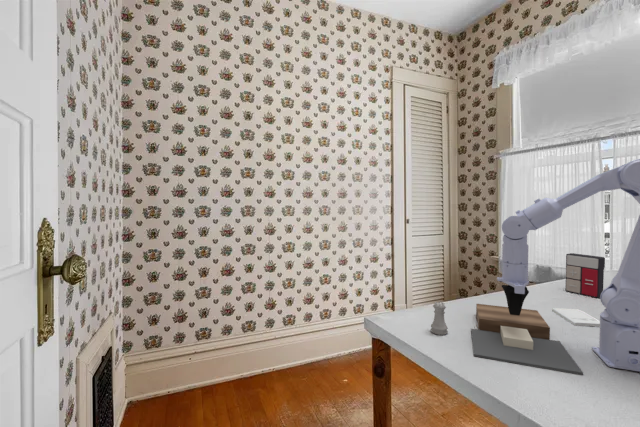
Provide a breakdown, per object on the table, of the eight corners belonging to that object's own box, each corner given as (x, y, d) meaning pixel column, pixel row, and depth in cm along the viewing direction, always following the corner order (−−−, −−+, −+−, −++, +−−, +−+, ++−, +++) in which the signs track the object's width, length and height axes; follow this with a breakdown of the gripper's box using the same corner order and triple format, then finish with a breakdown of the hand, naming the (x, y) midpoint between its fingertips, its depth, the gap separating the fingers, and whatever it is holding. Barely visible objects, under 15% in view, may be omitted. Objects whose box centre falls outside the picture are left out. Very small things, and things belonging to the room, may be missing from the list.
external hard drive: (580, 314, 101) (607, 329, 88) (551, 312, 102) (574, 327, 90) (580, 309, 101) (607, 323, 88) (551, 307, 102) (574, 321, 90)
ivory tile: (533, 349, 74) (533, 341, 74) (503, 345, 77) (503, 337, 76) (526, 336, 81) (527, 329, 81) (500, 332, 84) (500, 325, 84)
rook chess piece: (437, 336, 83) (437, 306, 83) (427, 329, 87) (427, 301, 87) (451, 334, 84) (451, 304, 84) (440, 328, 88) (441, 300, 88)
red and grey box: (564, 291, 125) (564, 253, 125) (570, 290, 127) (571, 253, 126) (597, 298, 115) (598, 258, 115) (604, 297, 117) (605, 257, 116)
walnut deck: (549, 341, 80) (549, 327, 80) (479, 331, 86) (479, 318, 86) (536, 322, 93) (537, 310, 93) (476, 314, 99) (476, 303, 99)
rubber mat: (583, 375, 64) (583, 372, 64) (473, 356, 72) (473, 354, 72) (559, 343, 79) (559, 341, 79) (471, 330, 87) (471, 328, 87)
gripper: (494, 257, 90) (493, 304, 90) (500, 266, 76) (500, 321, 77) (523, 258, 87) (522, 307, 87) (535, 268, 74) (534, 325, 74)
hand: (514, 314), depth 82 cm, fingers closed
